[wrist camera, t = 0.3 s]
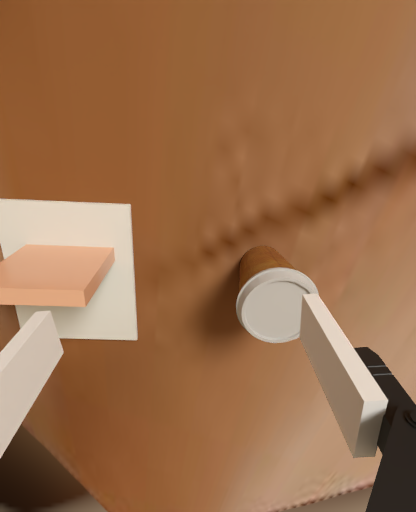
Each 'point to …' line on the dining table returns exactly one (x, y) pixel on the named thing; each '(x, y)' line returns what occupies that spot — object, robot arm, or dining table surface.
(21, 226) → the mat
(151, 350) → the dining table surface
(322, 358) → the robot arm
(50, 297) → the tile
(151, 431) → the dining table surface
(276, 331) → the disposable coffee cup
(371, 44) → the dining table surface
